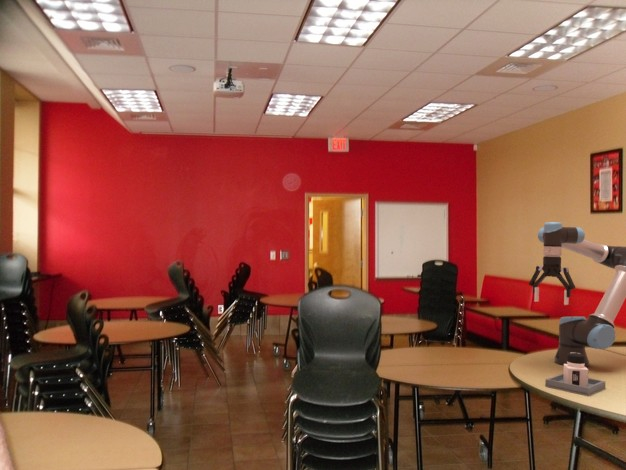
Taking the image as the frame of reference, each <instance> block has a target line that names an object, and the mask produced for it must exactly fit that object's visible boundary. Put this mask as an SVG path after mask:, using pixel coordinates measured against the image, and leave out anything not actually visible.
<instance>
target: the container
mask: <svg viewBox="0 0 626 470" xmlns="http://www.w3.org/2000/svg"><path fill="white" fill-rule="evenodd" d="M584 365H585V356H584V355H583V354H581V353H568V354H567V364H564V365H563V372H562V373H563V382H564V383H569V384H573V385H578V386H583V387H588V378H589V368H587V366H586V367H585V366H584Z"/></svg>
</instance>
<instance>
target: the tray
mask: <svg viewBox="0 0 626 470" xmlns="http://www.w3.org/2000/svg"><path fill="white" fill-rule="evenodd" d="M544 385H545V387H547V388H549V389H550V388H551V389H553V390H554V389H555V390H559V391H563V390H564V391H565V392H569V393H573V394H577V395H583V396H587V397H590V396H591V395H595V394H596V393H598V392H602V391H603V390H605V389H606V381H605V380H600V379H596V378H590V377H588V387H583V386H578V385H573V384H569V383H564V382H563V372H562V373H560V374H557V375H554V376H552V377H548V378H545V384H544Z"/></svg>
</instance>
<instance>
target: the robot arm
mask: <svg viewBox="0 0 626 470" xmlns="http://www.w3.org/2000/svg"><path fill="white" fill-rule="evenodd" d="M585 234H586V233H585V230H583V228H581V227H578V226H563V223H562V222H561V221H560V222H559V221H558V222H557V221H556V222H555V221H546V222H544V225H543V227H541V228H540V229H539V230H538V232H537V239H538V240H539V241H540V242H541V243H542V244H543V249H542V250H543V251H542V253H543V257H542V265H543V266H541V265H536V267H535V271H534V272H533V275H532V277H531V278H530V280H529V283H528V286H531V287H532V294H533V295H534V302H535V303H536V302H539V301H540V296H539V295H540V287H539V285H540V284H541V283H542V282H543V281H544V280H545V278H547V277H549V278H550V277H552V278H557V279H558V280H559V282H560V283H561V285H562V286H563V287H564V288H565V289H564V291H563V293H564V294H563V295H564V297H563V300H564V301H563V305H564V306H568V305H569V304H570V303H569V302H570V301H569V300H570V299H569V298H571V294H572V290H574V289H576V285H575V284H574V281H573V279H572V277H571V274H570V272H569V267H562V257H561V256H562V248H563V249H565V250H568V251H570V252H573V253H575V254H576V253H577V254H579V255H581V256H584V257H587V258H590V259H592V260H593V261H594V262H595V263H597V264H600V265H602V266H605V267H608V268H609V269H613V270H615V274H614V275H613V277H612V279H611V280H610V283H609V285H608V287H607V288H606V290H605V292H604V294H603V297H602V298H601V300H600V302H599V304H598V306H597V307H596V309H595V311H594V313H591V314H589V315H588V317H587V318H586V317H585V316H562V317H559V323H558V348H557V351H556V353H555V356H554V363H556V364H558V365H560V366H561V365H563V366H564V364H567V354H568V353H581V354H583V355H584V356H585V365H584V366H585V367H586V368H587V367H589V365H590V361H589V358H588V357H589V356H588V354H587V351H586V347H590V348H591V349H598V350H605V349H608V348H610V347H611V346H612V345H613V344H614V342H615V340H616V337H617V336H616V330H615V327H616V326H615V323H614V321H615V319H616V317H617V315H618V313H619V312H620V310H621V307H622V306H623V304H624V302H625V300H626V246H620V245H619V246H618V245H617V246H615V245H606V244H604V243H600V244H598V243H596V242H593V241H590V240H587V239H585V238H586V237H585V236H586V235H585ZM541 271H543V272H542V274H541V275H540V273H541ZM561 272H562V273H563V275H564V277H565V278H566V279H565V278H564V277H563V275H562V274H561Z"/></svg>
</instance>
